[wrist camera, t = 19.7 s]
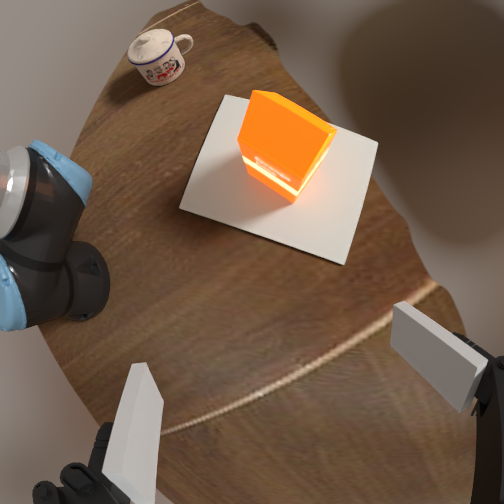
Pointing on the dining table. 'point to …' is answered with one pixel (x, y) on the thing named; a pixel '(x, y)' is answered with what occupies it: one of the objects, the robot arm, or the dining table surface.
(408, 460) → the dining table surface
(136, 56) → the teacup with lid
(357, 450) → the dining table surface
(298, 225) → the rubber mat
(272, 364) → the dining table surface
